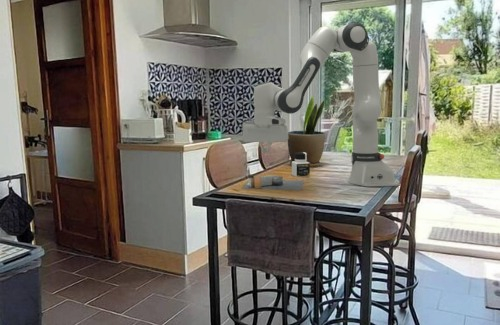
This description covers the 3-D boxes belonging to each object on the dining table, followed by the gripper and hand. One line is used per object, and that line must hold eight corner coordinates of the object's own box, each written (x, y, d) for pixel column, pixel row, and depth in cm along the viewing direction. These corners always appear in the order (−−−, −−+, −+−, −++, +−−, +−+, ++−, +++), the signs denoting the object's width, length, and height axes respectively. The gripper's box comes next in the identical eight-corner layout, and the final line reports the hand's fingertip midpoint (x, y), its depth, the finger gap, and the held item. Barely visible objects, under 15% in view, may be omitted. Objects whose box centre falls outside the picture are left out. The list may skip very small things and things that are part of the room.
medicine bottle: (296, 177, 213) (296, 153, 211) (291, 175, 220) (291, 151, 218) (309, 176, 215) (310, 152, 213) (304, 174, 221) (304, 151, 220)
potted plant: (327, 168, 237) (328, 95, 231) (288, 168, 238) (288, 96, 232) (322, 162, 258) (322, 95, 252) (286, 162, 259) (286, 96, 252)
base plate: (303, 182, 200) (303, 169, 199) (302, 192, 181) (302, 178, 180) (248, 181, 204) (248, 169, 203) (241, 191, 185) (241, 177, 184)
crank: (278, 182, 196) (278, 170, 195) (285, 184, 191) (285, 172, 190) (245, 185, 189) (245, 174, 189) (251, 188, 184) (251, 176, 183)
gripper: (239, 121, 184) (240, 152, 186) (284, 120, 177) (285, 153, 179) (244, 120, 190) (246, 150, 192) (289, 119, 183) (289, 151, 185)
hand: (265, 152), depth 186 cm, fingers closed
